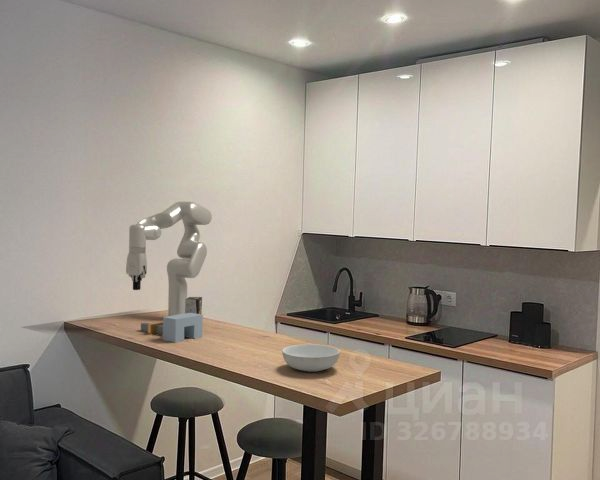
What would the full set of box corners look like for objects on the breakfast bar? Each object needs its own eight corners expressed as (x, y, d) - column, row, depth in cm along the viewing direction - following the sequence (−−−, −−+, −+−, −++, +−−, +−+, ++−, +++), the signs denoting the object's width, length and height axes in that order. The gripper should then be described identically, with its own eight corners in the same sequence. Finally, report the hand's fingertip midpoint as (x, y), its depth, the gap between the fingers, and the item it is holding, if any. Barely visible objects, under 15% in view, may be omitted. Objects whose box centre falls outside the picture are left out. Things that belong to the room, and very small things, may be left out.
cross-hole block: (162, 339, 255) (163, 317, 255) (189, 334, 268) (190, 312, 268) (175, 342, 251) (175, 319, 250) (202, 336, 264) (202, 314, 263)
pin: (136, 331, 272) (136, 321, 272) (150, 329, 278) (150, 319, 278) (172, 339, 258) (172, 328, 258) (185, 336, 264) (185, 326, 264)
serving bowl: (294, 359, 227) (294, 341, 227) (346, 365, 220) (346, 347, 219) (272, 372, 208) (272, 352, 208) (328, 379, 200) (329, 359, 200)
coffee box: (198, 334, 269) (198, 299, 268) (184, 334, 269) (184, 299, 268) (202, 330, 278) (202, 296, 277) (188, 330, 278) (189, 296, 277)
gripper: (120, 250, 278) (119, 289, 278) (141, 252, 269) (140, 291, 270) (133, 249, 284) (132, 287, 284) (154, 251, 275) (153, 290, 276)
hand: (136, 289), depth 277 cm, fingers closed
